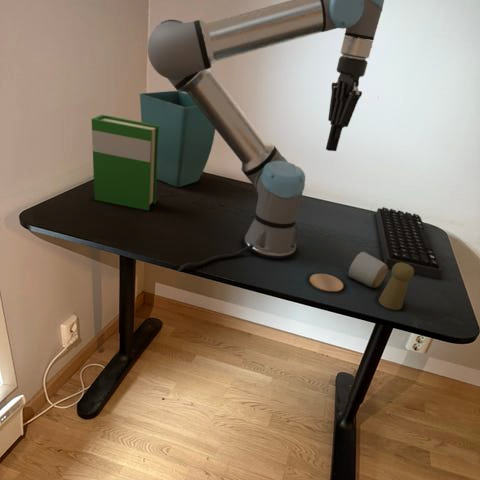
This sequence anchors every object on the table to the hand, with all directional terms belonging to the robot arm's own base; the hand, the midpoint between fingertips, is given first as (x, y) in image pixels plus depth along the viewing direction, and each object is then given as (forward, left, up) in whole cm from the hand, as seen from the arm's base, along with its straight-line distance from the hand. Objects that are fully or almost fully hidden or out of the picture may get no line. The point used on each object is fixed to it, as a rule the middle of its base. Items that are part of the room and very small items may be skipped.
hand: (330, 150), depth 131 cm
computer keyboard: (+32, -7, -27) cm, 42 cm away
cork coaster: (-10, -30, -26) cm, 42 cm away
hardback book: (-55, +25, -27) cm, 66 cm away
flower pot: (-34, +47, -27) cm, 64 cm away
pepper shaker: (+3, -41, -27) cm, 49 cm away
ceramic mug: (+3, -30, -27) cm, 40 cm away
